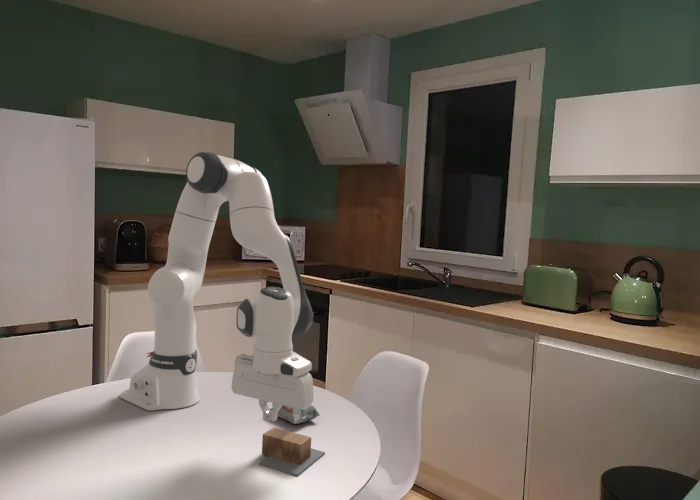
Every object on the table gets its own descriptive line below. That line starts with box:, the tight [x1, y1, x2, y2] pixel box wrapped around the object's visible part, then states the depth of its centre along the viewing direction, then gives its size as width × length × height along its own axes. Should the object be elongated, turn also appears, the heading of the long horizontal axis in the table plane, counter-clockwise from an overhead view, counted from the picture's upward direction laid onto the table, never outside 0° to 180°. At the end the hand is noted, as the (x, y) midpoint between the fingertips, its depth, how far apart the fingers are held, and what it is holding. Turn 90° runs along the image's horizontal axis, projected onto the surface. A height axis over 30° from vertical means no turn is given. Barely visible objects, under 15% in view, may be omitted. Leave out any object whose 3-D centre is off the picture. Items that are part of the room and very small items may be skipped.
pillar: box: [261, 427, 312, 465], centre depth 117 cm, size 4×4×10 cm
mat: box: [257, 448, 326, 477], centre depth 117 cm, size 10×12×1 cm
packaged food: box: [269, 404, 321, 425], centre depth 139 cm, size 9×12×5 cm
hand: (269, 419), depth 119 cm, fingers closed
